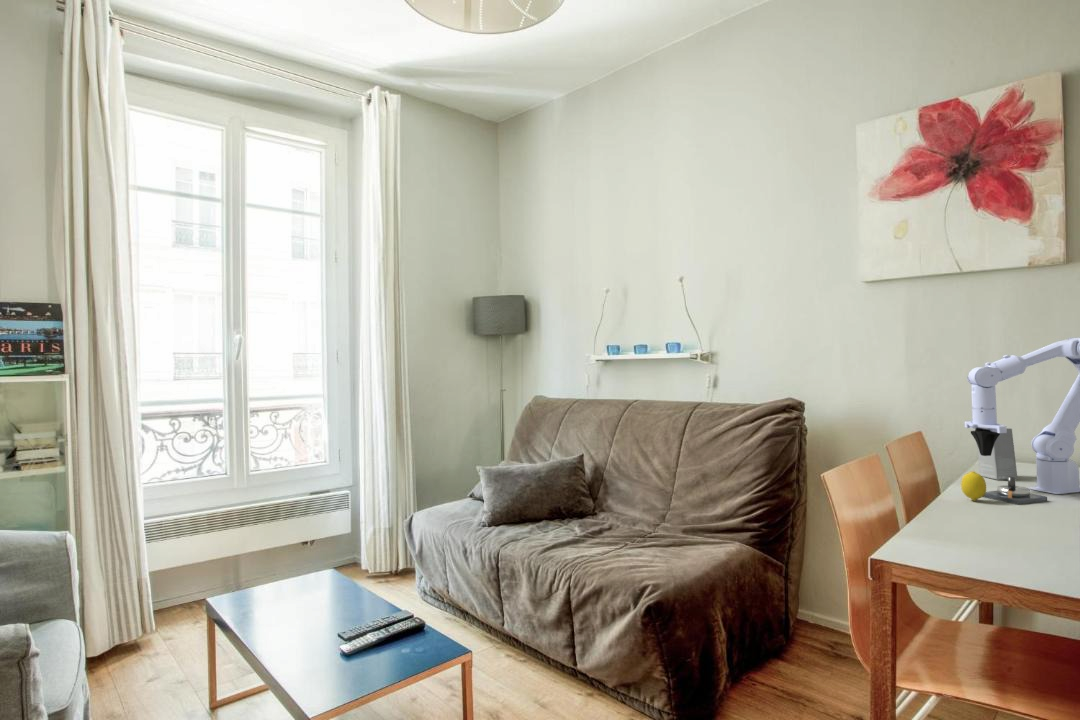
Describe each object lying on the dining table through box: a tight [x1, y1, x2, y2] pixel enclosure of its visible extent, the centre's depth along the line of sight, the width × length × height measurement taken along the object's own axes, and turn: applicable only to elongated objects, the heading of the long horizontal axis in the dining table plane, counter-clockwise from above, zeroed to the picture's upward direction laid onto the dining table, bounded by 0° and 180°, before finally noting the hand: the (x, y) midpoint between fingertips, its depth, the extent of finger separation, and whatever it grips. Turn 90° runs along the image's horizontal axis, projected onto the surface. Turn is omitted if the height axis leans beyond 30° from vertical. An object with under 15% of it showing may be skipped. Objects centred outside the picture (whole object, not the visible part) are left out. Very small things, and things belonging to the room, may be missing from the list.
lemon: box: [960, 470, 987, 502], centre depth 165 cm, size 6×6×8 cm
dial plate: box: [982, 490, 1048, 506], centre depth 166 cm, size 10×10×3 cm
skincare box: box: [974, 427, 1018, 481], centre depth 193 cm, size 8×7×16 cm
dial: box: [996, 476, 1031, 497], centre depth 166 cm, size 7×7×5 cm
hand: (985, 455), depth 177 cm, fingers closed
